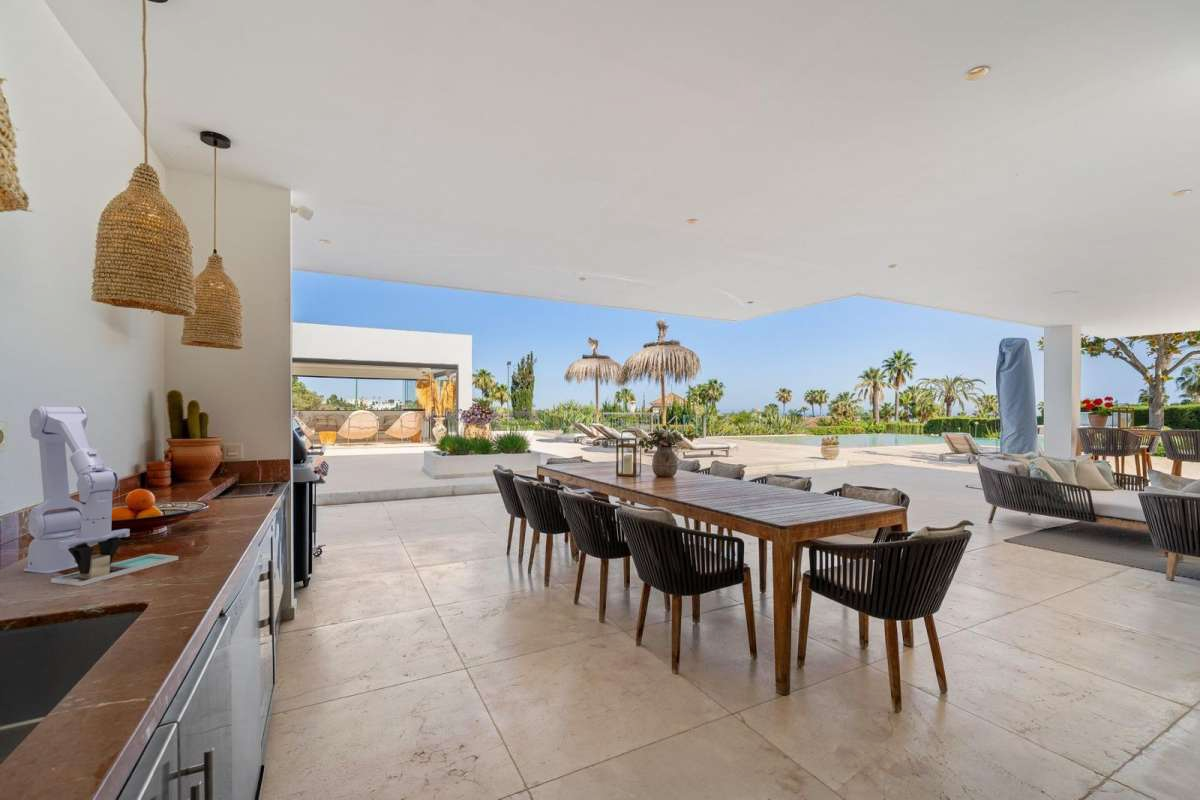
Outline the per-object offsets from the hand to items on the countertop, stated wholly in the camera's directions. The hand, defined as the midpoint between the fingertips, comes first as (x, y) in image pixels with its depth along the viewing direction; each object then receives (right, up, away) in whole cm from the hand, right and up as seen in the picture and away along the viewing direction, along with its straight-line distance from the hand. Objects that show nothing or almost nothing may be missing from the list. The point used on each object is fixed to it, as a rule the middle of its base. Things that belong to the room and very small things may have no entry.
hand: (94, 570), depth 135 cm
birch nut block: (0, -1, 0) cm, 1 cm away
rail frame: (+1, -2, +5) cm, 6 cm away
